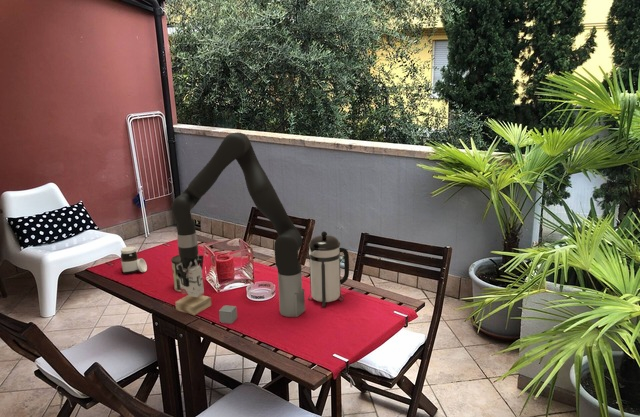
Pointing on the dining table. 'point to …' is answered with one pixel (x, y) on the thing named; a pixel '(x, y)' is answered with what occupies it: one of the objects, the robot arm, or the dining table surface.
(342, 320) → the dining table surface
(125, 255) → the spread jar
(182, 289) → the ink box
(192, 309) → the beech block
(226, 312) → the slate cube
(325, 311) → the dining table surface
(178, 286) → the coffee can
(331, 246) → the coffee press
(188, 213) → the robot arm
